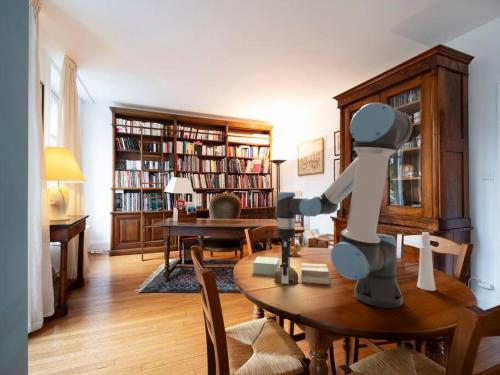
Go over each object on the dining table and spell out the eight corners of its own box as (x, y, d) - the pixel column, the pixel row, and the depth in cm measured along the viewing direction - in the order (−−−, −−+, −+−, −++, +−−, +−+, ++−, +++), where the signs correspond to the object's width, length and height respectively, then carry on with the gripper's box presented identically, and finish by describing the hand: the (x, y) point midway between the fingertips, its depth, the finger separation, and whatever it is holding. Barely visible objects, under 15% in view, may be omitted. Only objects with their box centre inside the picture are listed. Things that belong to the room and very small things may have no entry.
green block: (276, 275, 111) (276, 264, 111) (253, 273, 113) (253, 262, 113) (279, 267, 122) (279, 257, 122) (257, 266, 124) (257, 256, 124)
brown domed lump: (277, 293, 100) (281, 278, 97) (270, 274, 109) (272, 260, 106) (299, 290, 103) (303, 276, 100) (290, 273, 112) (293, 259, 109)
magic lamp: (279, 252, 154) (279, 234, 154) (308, 254, 148) (308, 236, 148) (276, 254, 147) (276, 236, 148) (307, 257, 142) (307, 238, 142)
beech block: (328, 284, 100) (328, 271, 100) (301, 281, 103) (301, 270, 103) (326, 275, 111) (326, 264, 111) (301, 273, 113) (301, 262, 114)
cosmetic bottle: (419, 283, 101) (418, 230, 102) (437, 288, 97) (436, 232, 97) (415, 287, 97) (414, 232, 98) (433, 292, 93) (433, 234, 93)
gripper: (294, 232, 92) (294, 289, 92) (295, 224, 116) (295, 269, 116) (274, 231, 94) (274, 287, 93) (280, 223, 118) (279, 267, 118)
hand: (286, 277), depth 105 cm, fingers open, 13 cm apart
